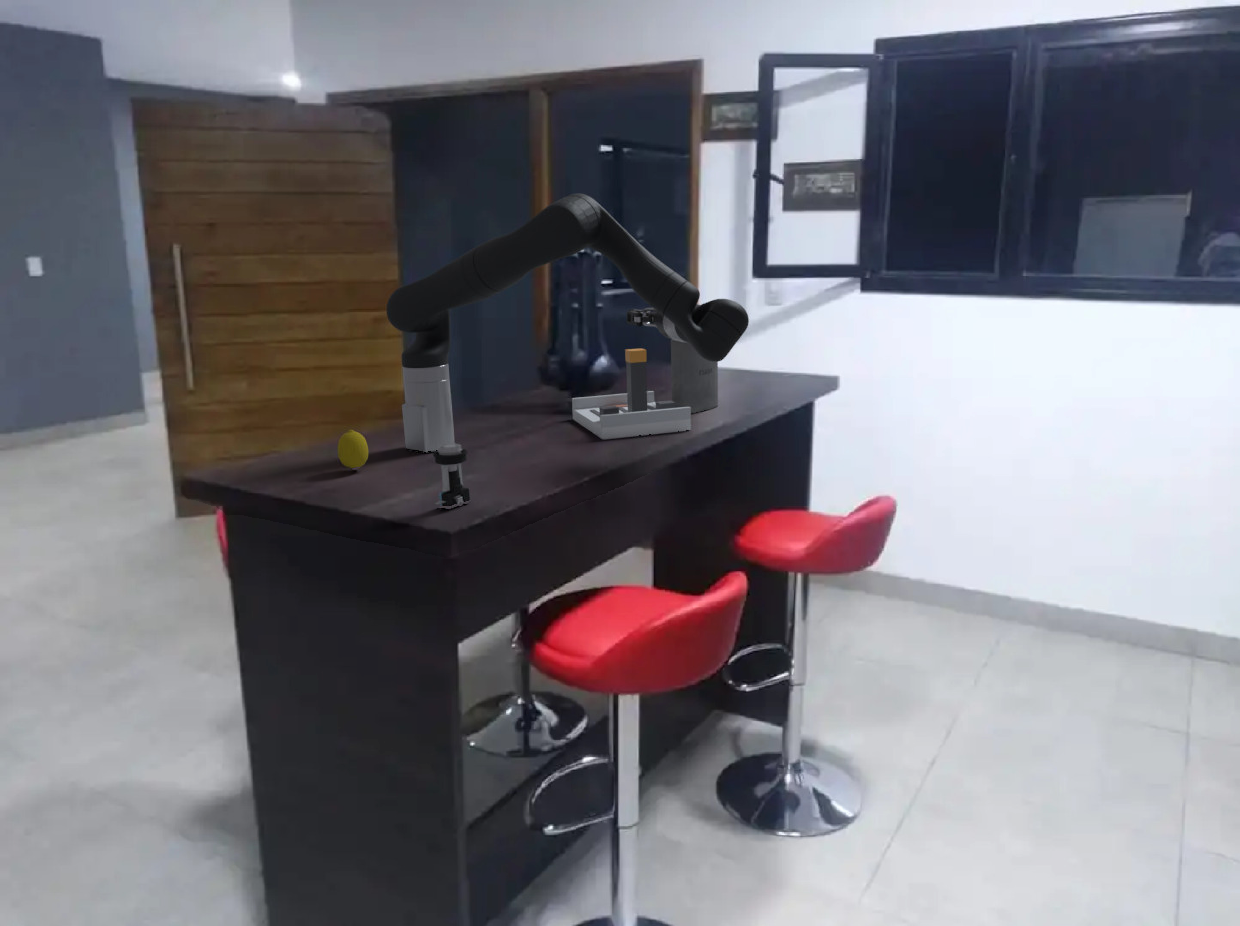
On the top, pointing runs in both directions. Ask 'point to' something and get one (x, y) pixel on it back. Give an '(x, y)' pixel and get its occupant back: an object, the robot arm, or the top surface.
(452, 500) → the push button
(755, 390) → the top surface
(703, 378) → the flask
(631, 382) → the handle
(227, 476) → the top surface
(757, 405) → the top surface
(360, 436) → the lemon
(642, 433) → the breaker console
